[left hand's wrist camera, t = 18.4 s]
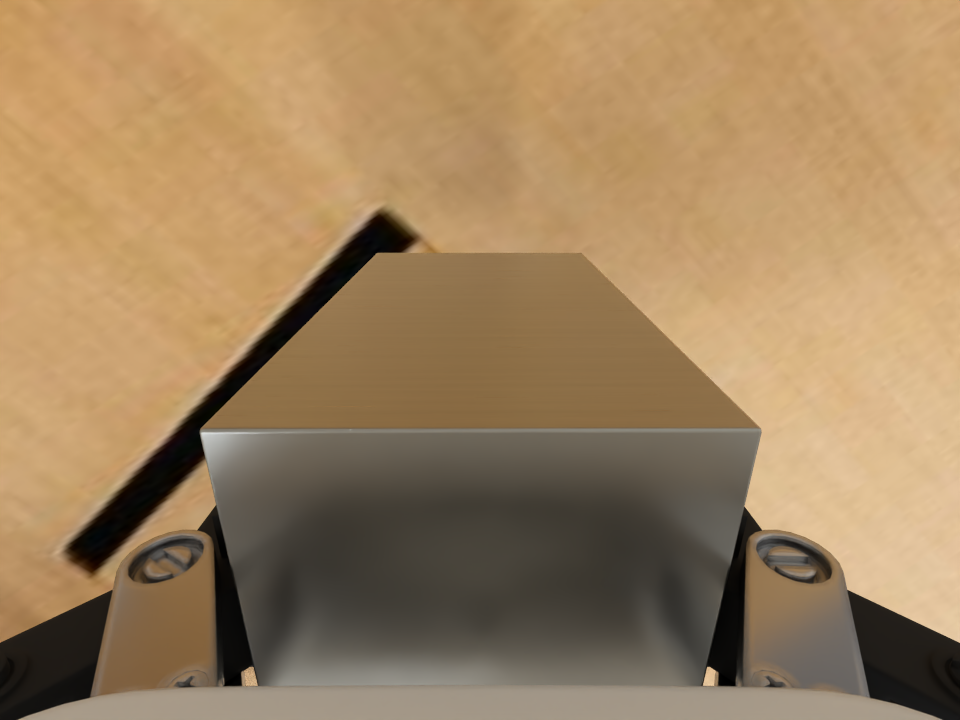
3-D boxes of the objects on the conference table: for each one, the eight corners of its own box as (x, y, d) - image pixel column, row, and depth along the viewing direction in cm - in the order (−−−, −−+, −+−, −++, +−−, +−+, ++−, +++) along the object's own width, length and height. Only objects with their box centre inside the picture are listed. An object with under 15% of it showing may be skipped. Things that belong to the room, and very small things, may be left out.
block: (390, 439, 20) (281, 793, 9) (376, 252, 17) (197, 429, 6) (568, 439, 20) (679, 792, 9) (582, 252, 17) (764, 429, 6)
